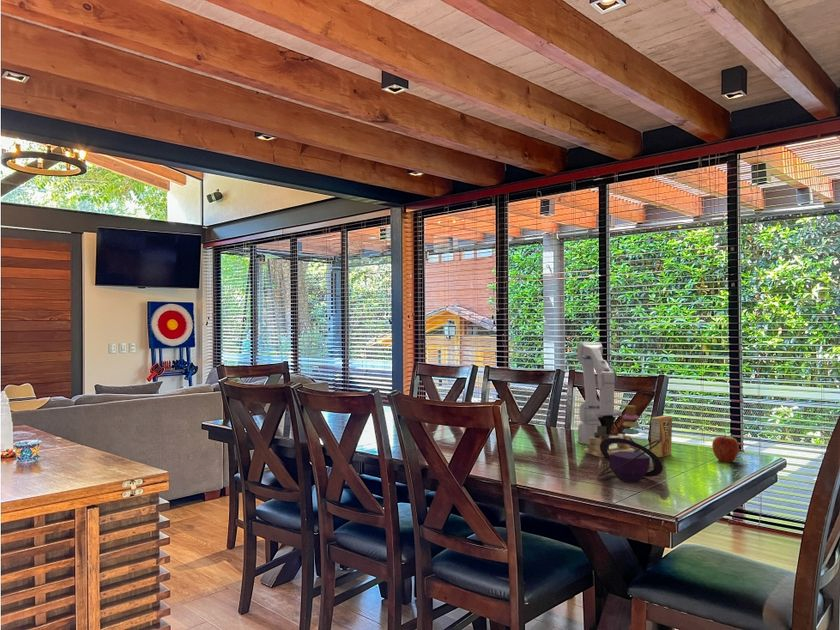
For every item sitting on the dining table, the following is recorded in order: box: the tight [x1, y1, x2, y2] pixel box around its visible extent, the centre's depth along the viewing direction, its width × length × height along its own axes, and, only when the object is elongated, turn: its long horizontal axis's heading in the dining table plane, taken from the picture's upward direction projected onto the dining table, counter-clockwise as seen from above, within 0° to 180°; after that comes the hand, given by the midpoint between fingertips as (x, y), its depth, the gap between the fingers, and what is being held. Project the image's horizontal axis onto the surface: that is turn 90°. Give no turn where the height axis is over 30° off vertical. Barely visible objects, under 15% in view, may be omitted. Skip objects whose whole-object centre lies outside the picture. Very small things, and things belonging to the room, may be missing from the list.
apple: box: [711, 434, 740, 463], centre depth 238 cm, size 9×9×10 cm
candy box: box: [650, 415, 673, 458], centre depth 247 cm, size 9×4×15 cm, turn 129°
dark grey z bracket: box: [594, 425, 610, 450], centre depth 249 cm, size 6×2×9 cm, turn 28°
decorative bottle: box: [598, 404, 664, 484], centre depth 207 cm, size 22×21×25 cm
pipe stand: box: [583, 433, 636, 458], centre depth 251 cm, size 10×18×7 cm, turn 118°
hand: (606, 434), depth 251 cm, fingers closed
